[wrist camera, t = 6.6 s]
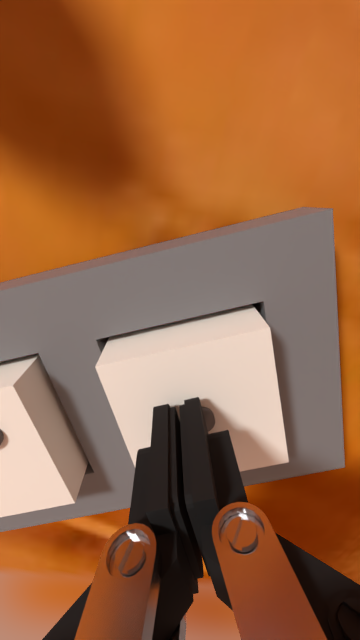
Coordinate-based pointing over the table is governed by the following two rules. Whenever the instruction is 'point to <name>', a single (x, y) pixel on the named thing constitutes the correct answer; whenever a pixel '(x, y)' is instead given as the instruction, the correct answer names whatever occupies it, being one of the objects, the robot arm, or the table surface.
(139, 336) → the tile
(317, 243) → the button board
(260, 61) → the table surface
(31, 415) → the tile
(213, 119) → the table surface
